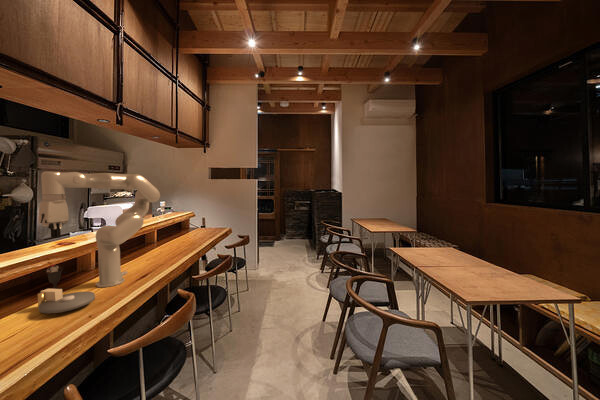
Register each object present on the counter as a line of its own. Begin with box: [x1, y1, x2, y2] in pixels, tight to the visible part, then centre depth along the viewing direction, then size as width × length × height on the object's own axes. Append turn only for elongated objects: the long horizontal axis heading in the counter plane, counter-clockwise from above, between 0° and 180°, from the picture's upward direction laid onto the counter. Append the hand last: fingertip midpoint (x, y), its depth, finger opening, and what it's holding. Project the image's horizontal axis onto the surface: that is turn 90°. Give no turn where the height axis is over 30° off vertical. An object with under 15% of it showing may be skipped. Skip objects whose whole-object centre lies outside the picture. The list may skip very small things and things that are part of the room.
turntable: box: [38, 288, 96, 314], centre depth 112 cm, size 20×18×6 cm
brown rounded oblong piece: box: [37, 292, 75, 313], centre depth 112 cm, size 8×15×7 cm, turn 83°
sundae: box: [44, 261, 64, 290], centre depth 130 cm, size 7×7×15 cm
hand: (55, 237), depth 120 cm, fingers closed
